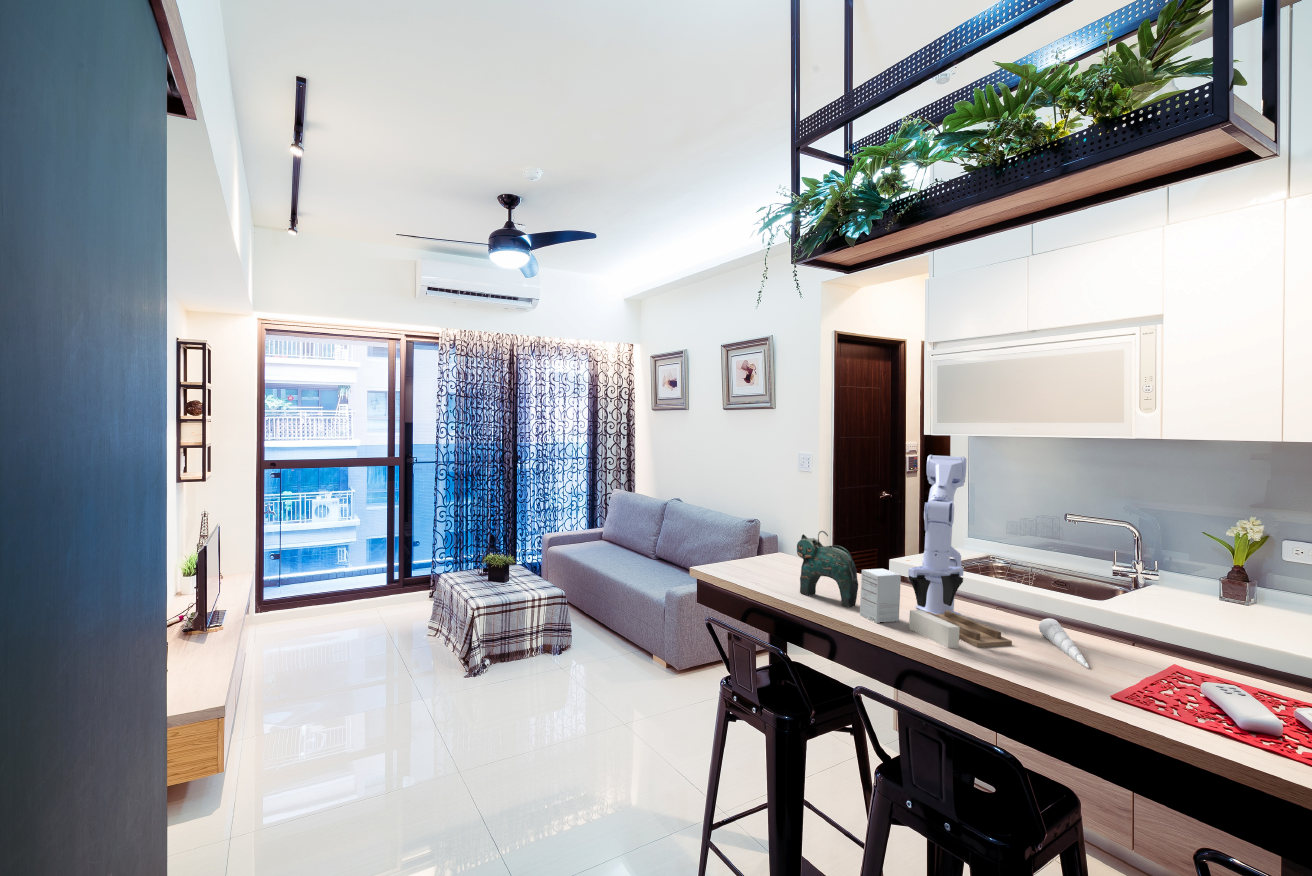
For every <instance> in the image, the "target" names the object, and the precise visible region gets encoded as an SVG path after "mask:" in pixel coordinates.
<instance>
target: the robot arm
mask: <svg viewBox="0 0 1312 876" xmlns="http://www.w3.org/2000/svg"><path fill="white" fill-rule="evenodd" d="M967 460H968V459H967V458H966V456H964V455H963V456H956V455H955V456H952V455H951V456H950V455H933V454H929V455H928V456H927V460H926V476H927V481H928V484H930V485H931V487H930V488H929V493H928V500H927V502H924V508H923V509H924V511H923V519H924V531H925V534H924V535H925V536H924V551H923V557H922V565H921V566H913V567H908V572H907V573H908V574H907V575H908V580H909V581H910V584H911V586H912V588H913V591H914V593H915V594H914V595H915V599H916V605H915V606H914V608H915V609H917V610H922V611H924V612H931V613H934V614H944V613H945V611H951V612H953V613H956V614H958V615H960V616H962V613H960V612H957V611H955V596H956V593H957V591H958V590H959V588H960V586H962V584H963V583H964V578H963V577H964V567H962V555H961V553H960V551H958V550H957V549H956V548H954V547H953V546H952V537H953V525H954V520H955V504H954V502H955V501H954V500H955V494H956V491H957V489H958V488H961V487H964V485H965V483H966V477H967V475H966V474H967Z"/></svg>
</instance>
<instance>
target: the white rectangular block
mask: <svg viewBox="0 0 1312 876" xmlns="http://www.w3.org/2000/svg"><path fill="white" fill-rule="evenodd" d="M908 622H909V623H908V629H909V628H910V629H911V631H912V630H913V632H914V631H915V633H916V632H917V633H916V634H918V633H919V635H920V634H921V635H920V636H922V635H923V637H924V636H925V637H924V638H926V637H927V638H926V639H928V638H929V639H928V640H930V641H933V642H935V643H937V644H938V645H940V646H943V647H945V648H947V649H952V648H953V649H954V648H959V647H960V645H959V644H960V639H959V630H960V627H958V626H956V625H954V624H951V623H949V622H947V621H945V620H942V619H940V618H938V617H935V616H933V615H931V614H929V613H926V612H925V611H923V610H920V609H910V610H909V621H908ZM910 629H909V630H910Z"/></svg>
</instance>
